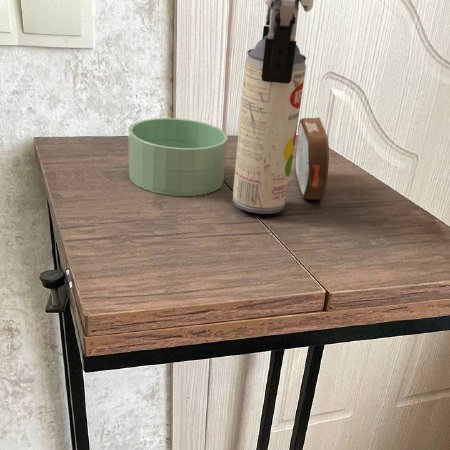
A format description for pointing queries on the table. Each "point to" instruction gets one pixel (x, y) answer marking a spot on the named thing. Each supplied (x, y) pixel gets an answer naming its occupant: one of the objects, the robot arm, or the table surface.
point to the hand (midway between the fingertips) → (274, 72)
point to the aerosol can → (266, 135)
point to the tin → (312, 158)
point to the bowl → (176, 156)
